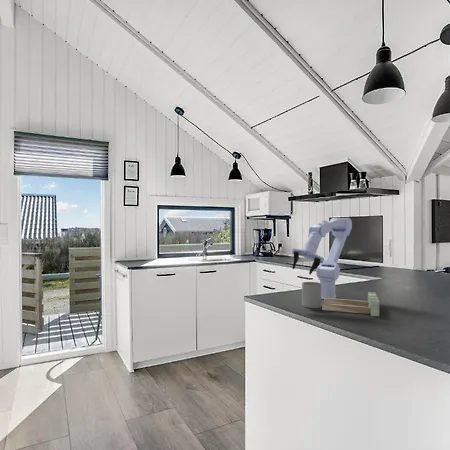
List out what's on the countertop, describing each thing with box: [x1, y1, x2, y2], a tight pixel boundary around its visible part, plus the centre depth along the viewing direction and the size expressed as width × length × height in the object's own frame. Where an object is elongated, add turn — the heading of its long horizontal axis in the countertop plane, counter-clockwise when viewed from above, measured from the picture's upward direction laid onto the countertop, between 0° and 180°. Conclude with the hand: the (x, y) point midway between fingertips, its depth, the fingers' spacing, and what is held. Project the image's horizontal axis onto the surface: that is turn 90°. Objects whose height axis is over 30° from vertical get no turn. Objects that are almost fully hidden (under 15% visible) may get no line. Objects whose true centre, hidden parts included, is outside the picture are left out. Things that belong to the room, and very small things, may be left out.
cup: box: [301, 281, 322, 309], centre depth 157 cm, size 8×8×10 cm
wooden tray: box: [321, 291, 380, 317], centre depth 152 cm, size 20×22×6 cm
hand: (301, 270), depth 157 cm, fingers open, 7 cm apart
